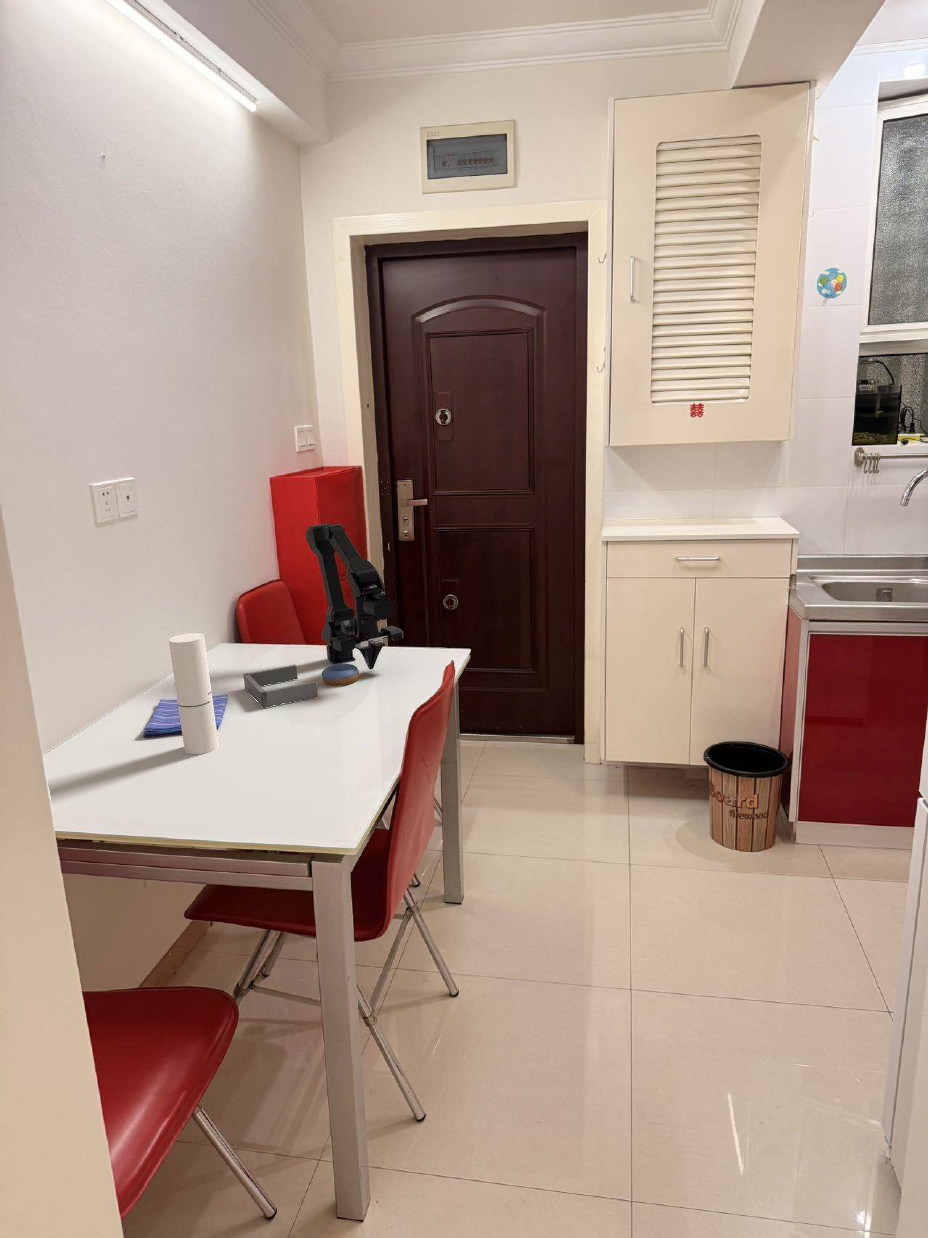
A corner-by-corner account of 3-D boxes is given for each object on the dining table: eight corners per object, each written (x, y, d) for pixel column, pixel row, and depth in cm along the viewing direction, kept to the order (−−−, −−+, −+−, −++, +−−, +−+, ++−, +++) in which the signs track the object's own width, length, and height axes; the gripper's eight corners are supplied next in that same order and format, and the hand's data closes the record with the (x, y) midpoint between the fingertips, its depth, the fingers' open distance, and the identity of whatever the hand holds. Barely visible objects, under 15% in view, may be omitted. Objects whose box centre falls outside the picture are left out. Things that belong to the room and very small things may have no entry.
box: (296, 678, 229) (295, 664, 228) (318, 697, 213) (316, 682, 212) (245, 688, 223) (243, 674, 222) (263, 708, 207) (261, 693, 206)
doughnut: (318, 677, 228) (317, 661, 227) (354, 673, 232) (354, 658, 230) (325, 691, 219) (325, 675, 218) (363, 687, 223) (363, 671, 221)
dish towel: (141, 741, 191) (140, 730, 191) (159, 706, 214) (157, 696, 213) (219, 733, 194) (218, 721, 193) (229, 699, 217) (227, 688, 216)
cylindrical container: (223, 741, 187) (209, 632, 181) (211, 754, 181) (195, 642, 174) (192, 741, 188) (177, 633, 182) (179, 754, 181) (162, 642, 175)
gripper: (382, 602, 236) (386, 655, 240) (321, 614, 226) (326, 669, 230) (402, 608, 227) (406, 664, 231) (339, 621, 217) (345, 679, 221)
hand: (370, 669), depth 229 cm, fingers closed
